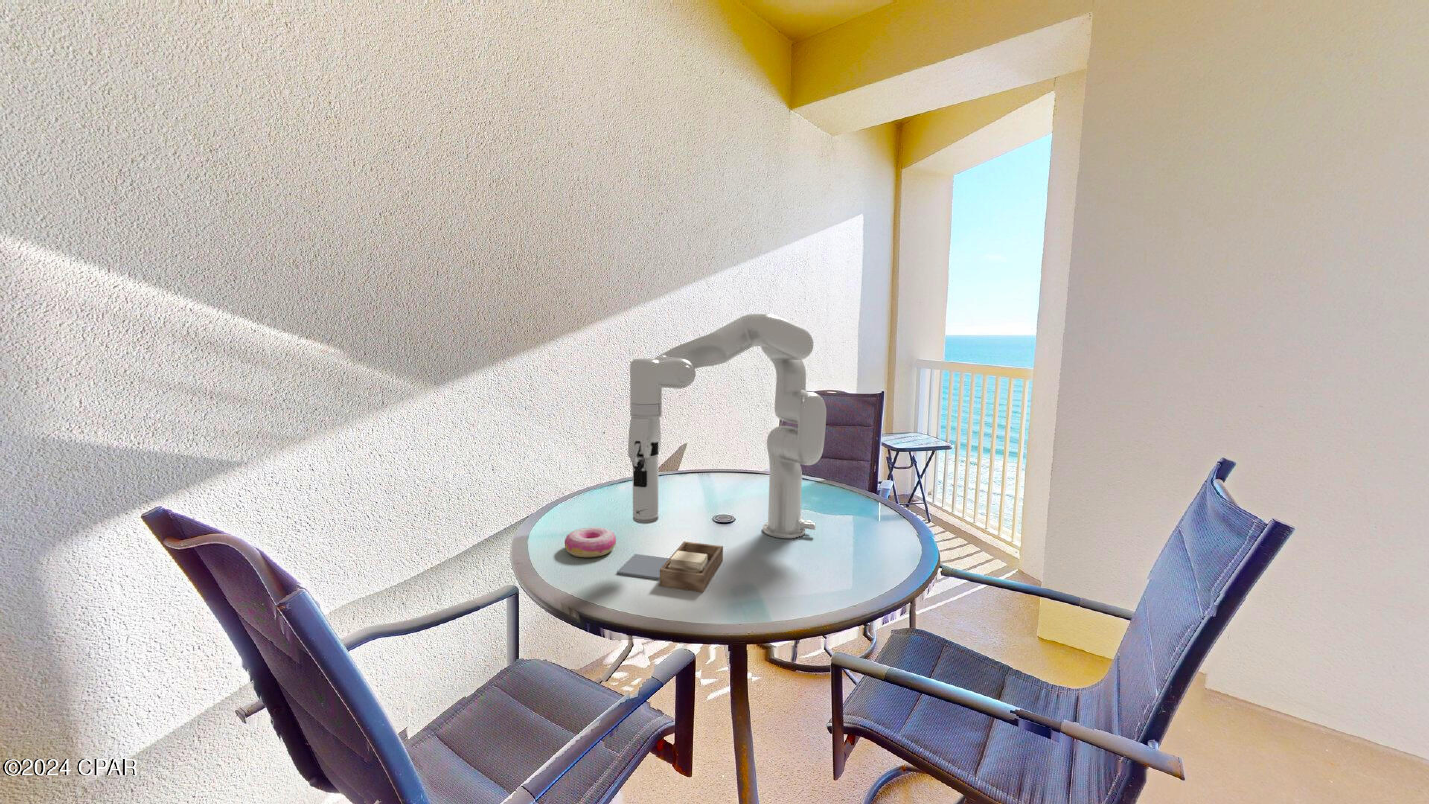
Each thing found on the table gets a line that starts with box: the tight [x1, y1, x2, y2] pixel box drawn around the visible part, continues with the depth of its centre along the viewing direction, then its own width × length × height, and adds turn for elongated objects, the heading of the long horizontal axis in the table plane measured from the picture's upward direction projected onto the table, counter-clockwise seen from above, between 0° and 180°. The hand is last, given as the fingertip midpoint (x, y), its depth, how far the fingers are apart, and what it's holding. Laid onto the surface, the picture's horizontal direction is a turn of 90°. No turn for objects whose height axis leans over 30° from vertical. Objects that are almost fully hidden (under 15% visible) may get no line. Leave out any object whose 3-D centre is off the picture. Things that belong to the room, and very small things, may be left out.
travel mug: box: [632, 442, 659, 525], centre depth 131 cm, size 6×7×20 cm
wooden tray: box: [659, 541, 724, 593], centre depth 131 cm, size 11×18×4 cm, turn 165°
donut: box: [564, 526, 617, 558], centre depth 144 cm, size 14×13×5 cm
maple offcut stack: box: [668, 551, 708, 573], centre depth 127 cm, size 8×5×6 cm, turn 75°
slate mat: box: [616, 553, 670, 581], centre depth 134 cm, size 11×11×1 cm
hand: (646, 482), depth 131 cm, fingers closed on travel mug, 6 cm apart
